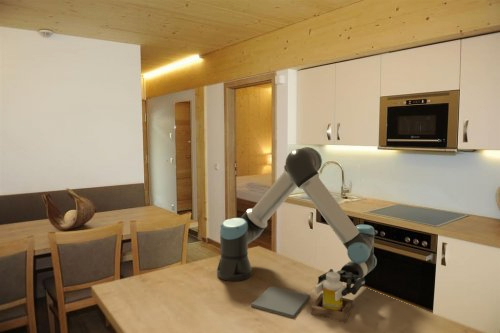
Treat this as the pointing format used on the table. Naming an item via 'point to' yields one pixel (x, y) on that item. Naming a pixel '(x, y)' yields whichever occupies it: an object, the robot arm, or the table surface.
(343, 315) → the locating collar
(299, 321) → the table surface
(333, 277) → the supplement bottle
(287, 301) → the slate mat
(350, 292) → the robot arm
